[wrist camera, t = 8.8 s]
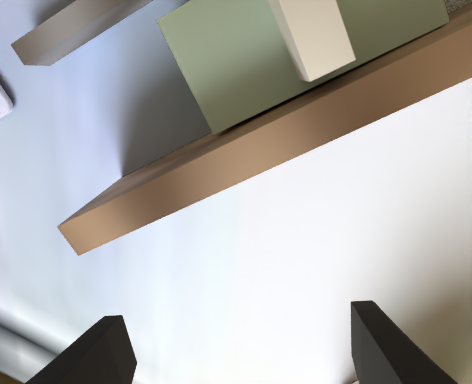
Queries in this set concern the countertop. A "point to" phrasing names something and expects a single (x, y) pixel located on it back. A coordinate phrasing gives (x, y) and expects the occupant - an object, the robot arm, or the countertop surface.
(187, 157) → the wall board
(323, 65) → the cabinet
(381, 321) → the robot arm
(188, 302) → the countertop surface
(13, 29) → the countertop surface
